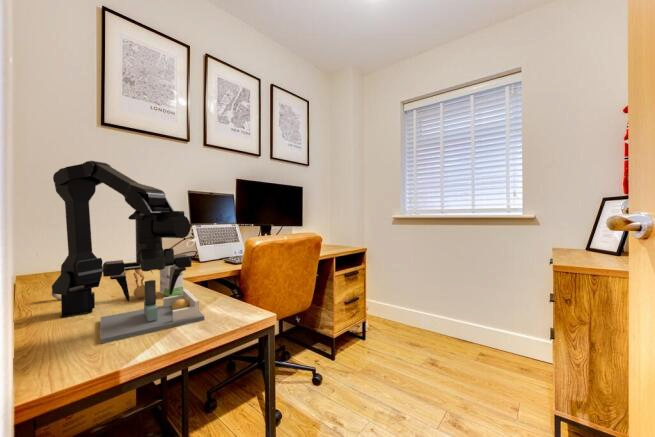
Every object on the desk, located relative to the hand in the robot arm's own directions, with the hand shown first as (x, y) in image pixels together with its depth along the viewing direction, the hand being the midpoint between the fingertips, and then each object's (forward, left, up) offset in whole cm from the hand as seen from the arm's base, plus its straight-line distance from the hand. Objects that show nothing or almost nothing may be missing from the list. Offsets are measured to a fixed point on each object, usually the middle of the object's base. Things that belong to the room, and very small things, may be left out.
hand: (150, 297), depth 72 cm
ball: (+7, 0, -4) cm, 8 cm away
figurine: (0, +25, -6) cm, 26 cm away
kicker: (0, 0, -5) cm, 5 cm away
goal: (+7, 0, -5) cm, 9 cm away
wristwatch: (-19, +38, -6) cm, 43 cm away
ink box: (+9, +24, -6) cm, 26 cm away
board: (0, 0, -6) cm, 6 cm away
